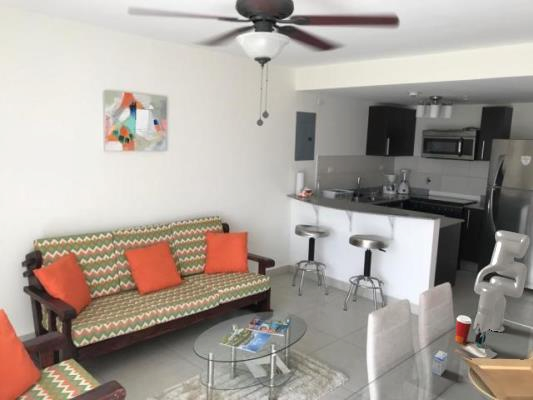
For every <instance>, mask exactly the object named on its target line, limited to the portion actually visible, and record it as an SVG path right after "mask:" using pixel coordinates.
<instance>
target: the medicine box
mask: <svg viewBox="0 0 533 400" xmlns="http://www.w3.org/2000/svg"><path fill="white" fill-rule="evenodd" d="M448 358H449V353H447V352H444V351H443V350H438V352H437V353H436V354H435V355H434V356H433V361H432V366H431V371H430V372H431V373H432V374H434V375H436V376H438V377H441V376H442V375H443V373H444V372H445V371H446V370H447V363H448Z"/></svg>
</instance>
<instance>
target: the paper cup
mask: <svg viewBox="0 0 533 400" xmlns="http://www.w3.org/2000/svg"><path fill="white" fill-rule="evenodd" d="M472 323H473V322H472V319H471V317H469V316H467V315H458V316H457V317H456V327H455V328H456V329H455V337H454V338H455V340H454V342H456V343H458V344H460V345H467V342H468V337H469V335H470V330H471V325H472Z"/></svg>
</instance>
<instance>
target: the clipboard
mask: <svg viewBox="0 0 533 400" xmlns="http://www.w3.org/2000/svg"><path fill="white" fill-rule="evenodd" d="M476 345H477V342H475V341H471V342H469V343H466V344H464V345H462V346H460V347H459V348H456V349H455V350H454V353H456V354H459V355H461V356H463V357H465V358H466V359H469V358H480V357H486V356H487V354H486V353H485V349H489V350H492V348H491V347H489V346H487V345H484V344H483V345H482V348H478V347H477V346H476Z"/></svg>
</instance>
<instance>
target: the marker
mask: <svg viewBox="0 0 533 400" xmlns="http://www.w3.org/2000/svg"><path fill="white" fill-rule="evenodd" d="M479 333H480V332H479ZM480 334H481V333H480ZM484 334H485V332H483V334H482V337H483V338H482V344H479V343H477V342H476V343H477V345H476V346H477V347H478V348H482V345H484V344H483V339H484Z"/></svg>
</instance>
